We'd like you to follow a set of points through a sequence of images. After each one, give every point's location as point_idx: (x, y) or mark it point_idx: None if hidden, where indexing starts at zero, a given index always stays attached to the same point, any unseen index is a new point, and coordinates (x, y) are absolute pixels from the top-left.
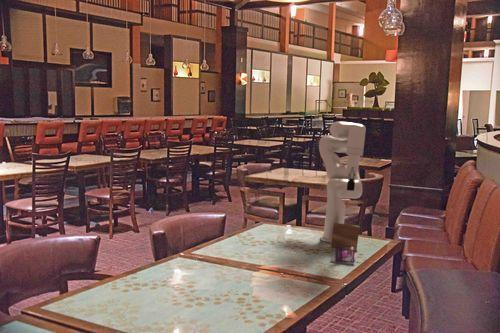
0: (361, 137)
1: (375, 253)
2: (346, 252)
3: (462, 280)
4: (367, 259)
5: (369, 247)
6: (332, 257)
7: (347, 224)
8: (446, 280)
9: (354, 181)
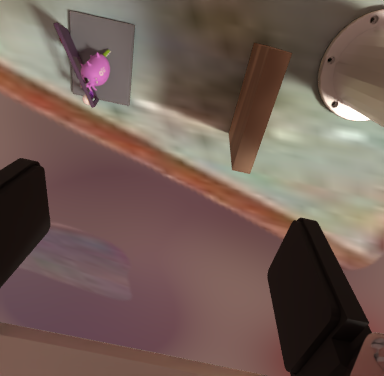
0: None
1: (224, 185)
2: (82, 75)
3: (89, 291)
4: (155, 149)
5: (285, 184)
6: (114, 25)
7: (266, 124)
8: (74, 268)
9: (281, 341)
